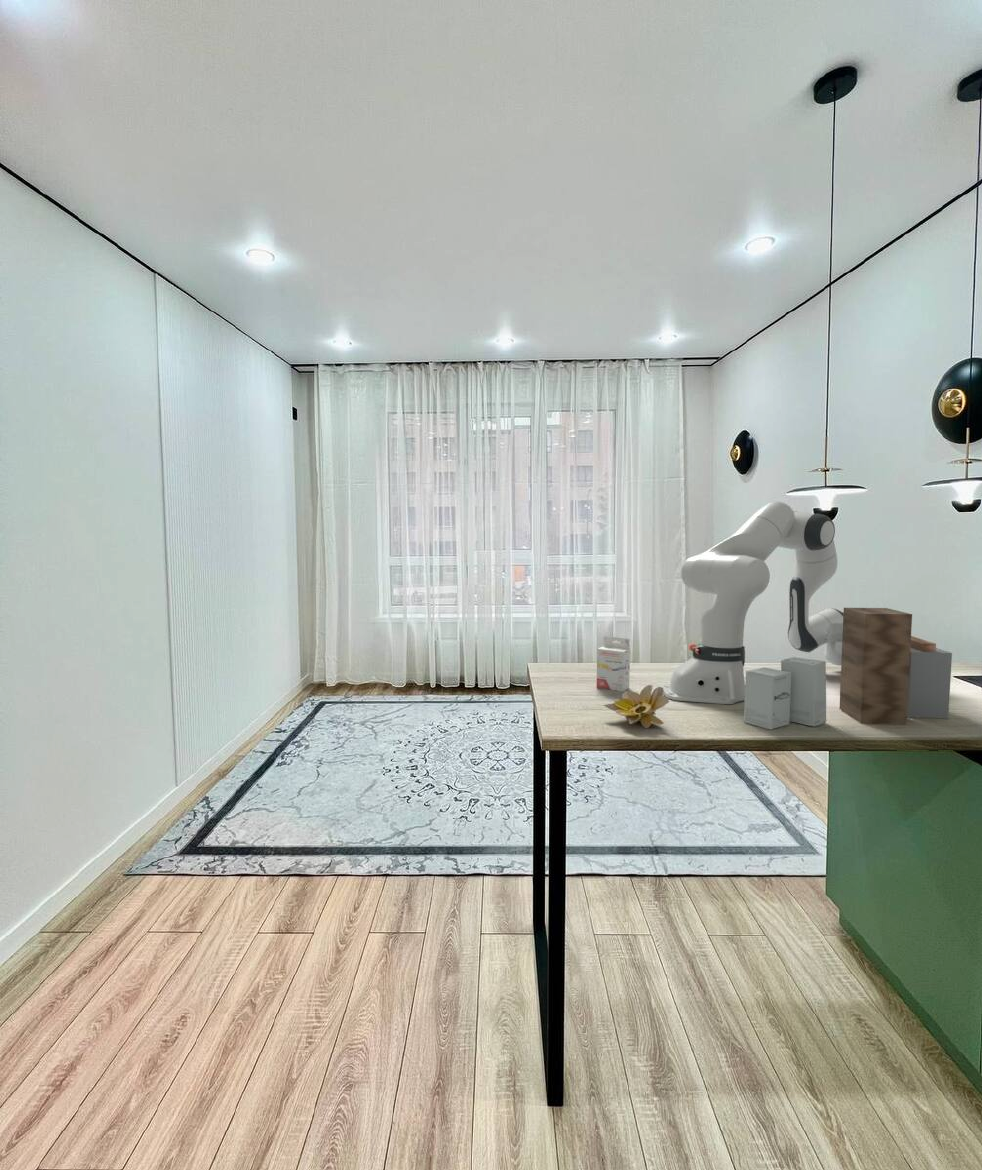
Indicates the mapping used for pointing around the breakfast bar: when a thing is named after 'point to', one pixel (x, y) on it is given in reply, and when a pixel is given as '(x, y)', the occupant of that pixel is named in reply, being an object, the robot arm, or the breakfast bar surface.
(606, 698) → the breakfast bar surface
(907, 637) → the walnut stand
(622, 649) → the ink cartridge box
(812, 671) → the skincare box
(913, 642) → the slat
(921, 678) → the grey block
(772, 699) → the supplement box
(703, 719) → the breakfast bar surface
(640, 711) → the decorative flower
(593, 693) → the breakfast bar surface
